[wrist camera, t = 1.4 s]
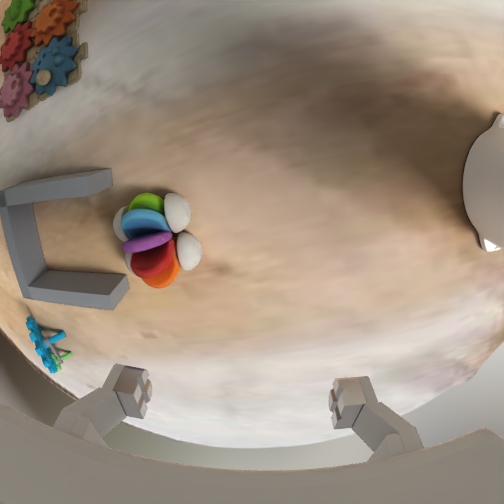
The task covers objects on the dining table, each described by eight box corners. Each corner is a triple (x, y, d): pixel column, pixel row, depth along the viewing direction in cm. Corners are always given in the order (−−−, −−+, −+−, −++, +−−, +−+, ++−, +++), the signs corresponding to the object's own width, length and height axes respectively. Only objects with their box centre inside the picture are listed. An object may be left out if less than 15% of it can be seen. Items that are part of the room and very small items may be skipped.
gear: (20, 307, 35) (26, 345, 29) (48, 294, 39) (58, 330, 32) (47, 352, 41) (59, 390, 35) (71, 340, 44) (86, 376, 38)
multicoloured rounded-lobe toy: (143, 274, 33) (119, 307, 27) (118, 197, 30) (84, 217, 23) (209, 263, 32) (195, 298, 26) (187, 179, 29) (164, 194, 22)
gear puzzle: (17, -26, 14) (3, -31, 10) (95, -76, 12) (84, -87, 9) (9, 126, 26) (-11, 129, 22) (93, 78, 24) (73, 74, 21)
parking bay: (111, 168, 28) (87, 176, 24) (129, 288, 34) (113, 310, 29) (20, 182, 29) (-4, 192, 24) (42, 281, 35) (23, 298, 30)
